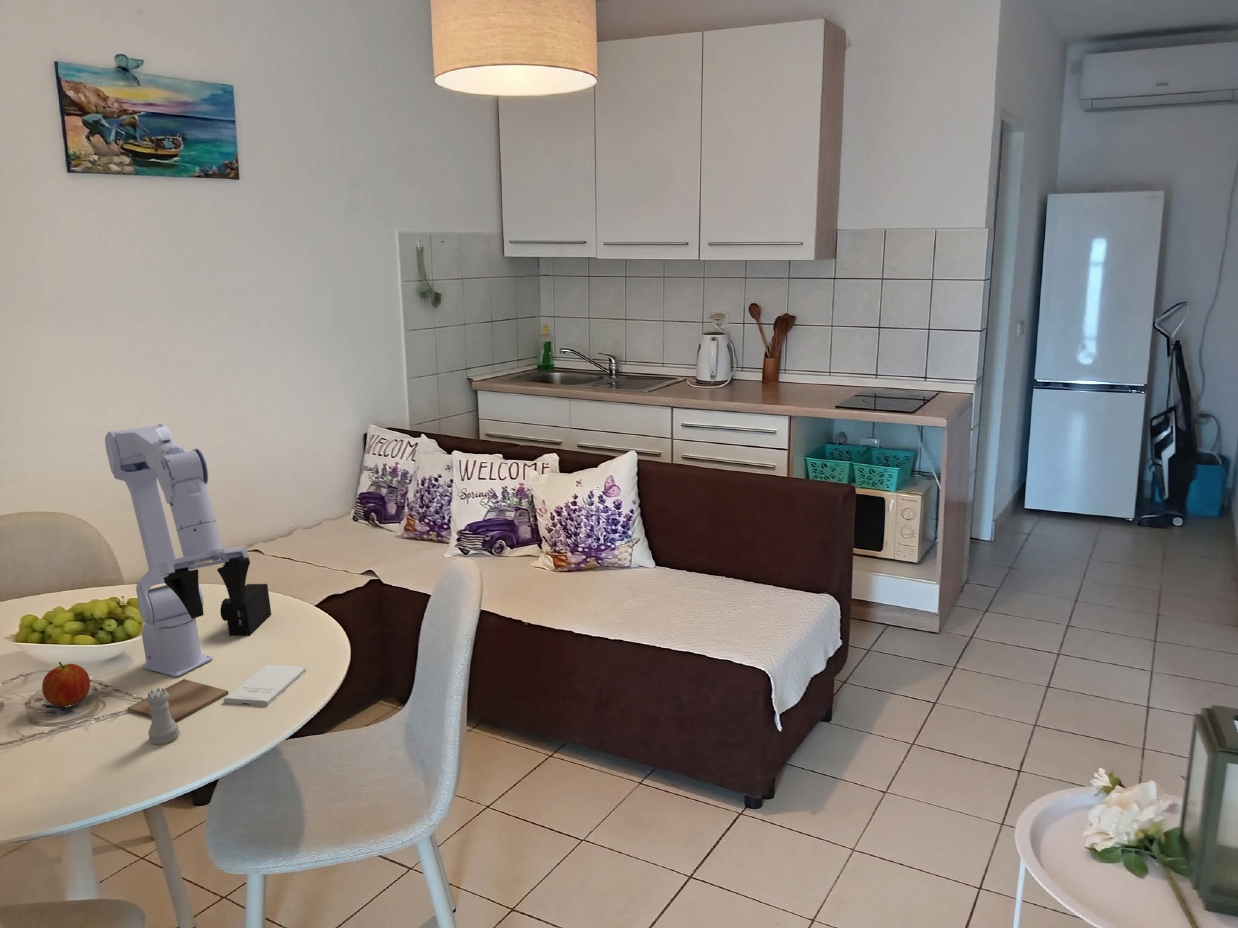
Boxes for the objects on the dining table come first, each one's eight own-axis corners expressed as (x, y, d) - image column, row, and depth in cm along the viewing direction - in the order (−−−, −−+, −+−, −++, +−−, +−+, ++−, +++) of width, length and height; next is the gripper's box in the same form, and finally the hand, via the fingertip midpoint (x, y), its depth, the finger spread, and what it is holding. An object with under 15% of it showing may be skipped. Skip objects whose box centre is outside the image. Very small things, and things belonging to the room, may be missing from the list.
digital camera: (246, 615, 194) (241, 583, 193) (271, 614, 194) (267, 582, 192) (223, 636, 184) (218, 603, 183) (250, 635, 184) (245, 602, 182)
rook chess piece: (155, 731, 149) (147, 685, 147) (184, 729, 149) (177, 683, 147) (144, 746, 145) (135, 699, 143) (174, 744, 145) (166, 697, 143)
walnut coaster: (128, 710, 156) (127, 707, 156) (184, 681, 166) (183, 678, 165) (173, 724, 151) (172, 720, 151) (228, 693, 161) (228, 690, 160)
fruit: (89, 690, 164) (81, 648, 162) (97, 704, 159) (88, 661, 157) (43, 703, 160) (34, 660, 158) (49, 718, 154) (40, 674, 152)
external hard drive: (306, 674, 168) (268, 709, 156) (265, 672, 170) (224, 705, 158) (305, 666, 168) (267, 700, 156) (264, 663, 169) (222, 696, 157)
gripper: (170, 527, 138) (194, 616, 137) (251, 514, 151) (273, 596, 150) (142, 538, 141) (164, 626, 140) (223, 525, 154) (244, 605, 153)
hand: (219, 611), depth 145 cm, fingers open, 7 cm apart
